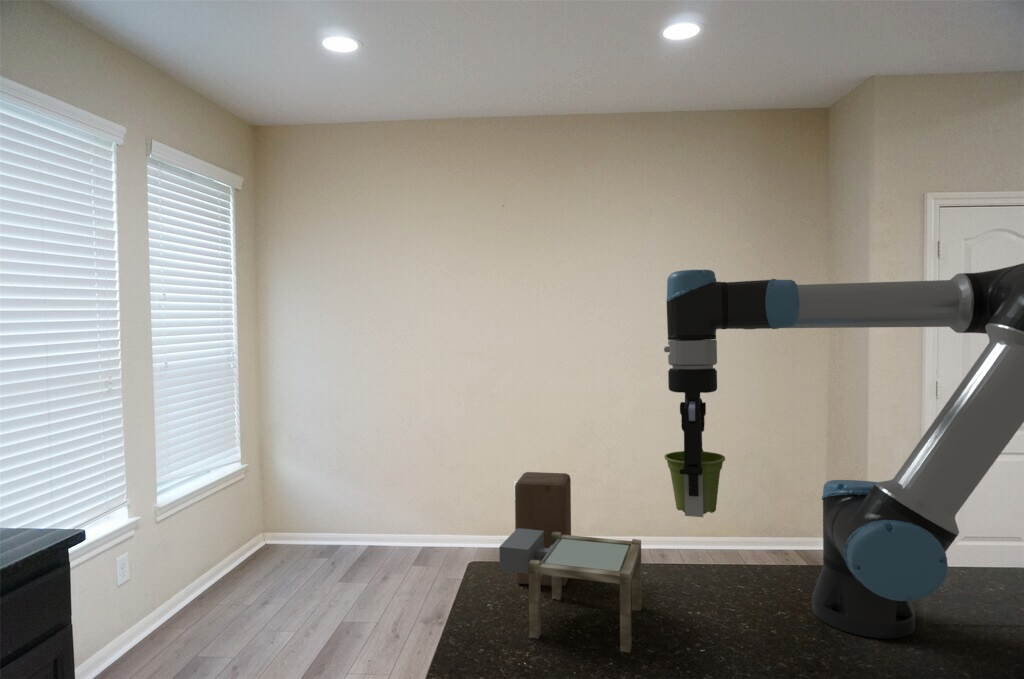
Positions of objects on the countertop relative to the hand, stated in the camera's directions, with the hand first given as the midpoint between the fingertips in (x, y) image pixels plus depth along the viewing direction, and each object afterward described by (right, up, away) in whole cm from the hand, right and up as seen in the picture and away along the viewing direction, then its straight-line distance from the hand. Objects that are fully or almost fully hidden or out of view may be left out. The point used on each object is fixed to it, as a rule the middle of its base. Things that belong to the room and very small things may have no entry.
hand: (694, 507), depth 98 cm
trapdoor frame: (-17, -20, +5) cm, 27 cm away
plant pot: (0, 0, 0) cm, 1 cm away
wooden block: (-23, -21, +24) cm, 39 cm away
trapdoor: (-20, -12, +6) cm, 24 cm away
